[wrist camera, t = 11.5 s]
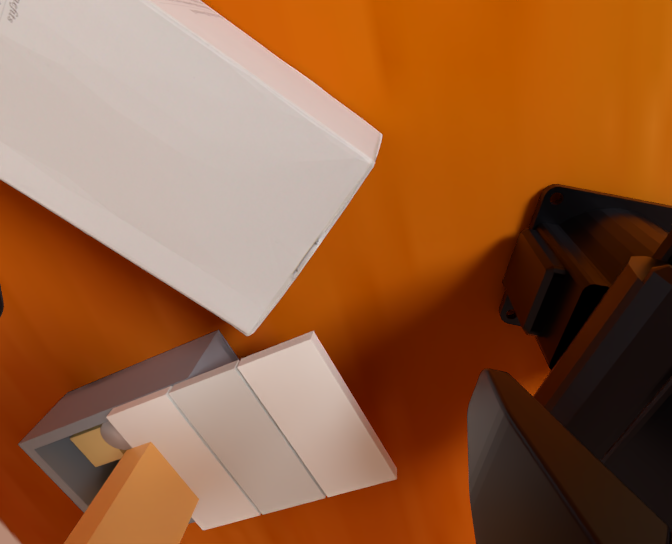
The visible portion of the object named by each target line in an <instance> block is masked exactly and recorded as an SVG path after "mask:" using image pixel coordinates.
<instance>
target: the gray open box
mask: <svg viewBox="0 0 672 544" xmlns="http://www.w3.org/2000/svg"><path fill="white" fill-rule="evenodd" d="M237 360H239V359H238V357H237V356H236V354H235V353H234V351H233V350H232V349H231V347H230V346H229V344H228V343H227V341H226V340H225V338H224V337H223V335H222V334H221V333H220V331H219V330H217V331H215V332H212V333H210V334H207V335H205V336H203V337H200V338H198V339H195V340H193V341H191V342H188V343H186V344H183V345H181V346H179V347H176V348H174V349H171V350H169V351H166V352H164V353H162V354H159V355H157V356H154V357H152V358H150V359H147V360H145V361H142V362H140V363H138V364H135V365H133V366H130V367H128V368H126V369H123V370H121V371H118V372H116V373H114V374H111V375H109V376H106V377H104V378H102V379H99V380H97V381H94V382H92V383H90V384H87V385H85V386H82V387H80V388H78V389H75V390H73V391H70V392H68V393H66V394H65V396H64V397H63V398H62V399H61V400H60V401H59V402H58V403H57V404H56V405H55V406H54V407H53V408H52V409H51V410H50V411H49V412H48V413H47V414H46V415H45V416H44V417H43V418H42V420H41V421H40V422H39V423H38V424H37V425H36V426H35V427H34V428H33V429H32V430H31V431H30V432H29V433H28V434H27V435H26V436H25V437H24V438H23V439H22V440H21V441H20V442H19V444H18V445H19V446H20V447H21V448H22V449H23V450H24V451H25V452H26V453H27V454H28V455H29V456H30V458H31V459H32V460H33V461H34V462H35V463H36V464H37V465H38V466H39V467H40V468H41V469H42V470H43V471H44V472H45V473H46V474H47V475H48V476H49V477H50V478H51V479H52V480H53V481H54V482H55V483H56V484H57V485H58V486H59V487H60V489H61V490H62V491H63V492H64V493H65V494H66V495H67V496H68V497H69V498H70V499H71V500H72V501H73V502H74V503H75V504H76V505H77V506H78V507H79V508H80V509H81V510H82V511H83V512H84V513H85V511H86V510H87V508H88V507H89V505H90V504H91V502H92V501H93V499H94V498H95V496H96V495H97V493H98V492H99V490H100V489H101V488H102V486H103V485H104V483H105V482H106V480H107V479H108V477H109V476H110V474H111V473H112V471H113V470H114V468H115V467H116V465H117V464H118V462H119V461H120V459H121V458H122V456H123V455H124V453H125V452H126V450H128V449H131V448H132V447H131V446H130V445H129V444H128V442H127V441H126V440H125V439H124V438H123V437H122V435H121V434H120V433H119V432H118V431H117V430H116V428H115V427H114V426H113V425H112V424H111V423H110V421H109V420H108V419H107V418H106V417H107V415H108V414H109V413H110V412H111V410H112V409H113V408H115V407H118V406H120V405H123V404H126V403H128V402H131V401H133V400H136V399H138V398H141V397H144V396H146V395H149V394H151V393H154V392H156V391H159V390H162V389H164V388H167V387H169V386H172V387H173V385H175V384H177V383H180V382H182V381H185V380H187V379H190V378H193V377H195V376H198V375H200V374H203V373H206V372H208V371H211V370H213V369H216V368H218V367H221V366H224V365H226V364H229V363H231V362H234V361H237ZM239 361H240V360H239ZM192 522H195V521H194V519H193V518H192V517H191V519H190V521H189V523H192ZM189 523H188V524H189Z"/></svg>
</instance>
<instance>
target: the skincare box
mask: <svg viewBox="0 0 672 544" xmlns="http://www.w3.org/2000/svg"><path fill="white" fill-rule="evenodd" d="M381 141H382V134H381V133H380V132H379V131H377V130H376V129H375V128H374V127H372V126H371V125H370V124H368V123H367V122H366V121H364V120H363V119H362V118H360V117H359V116H358V115H356V114H355V113H354V112H352V111H351V110H350V109H348V108H347V107H346V106H344V105H343V104H341V103H340V102H339V101H337V100H336V99H334V98H333V97H332V96H331V95H329V94H328V93H327V92H325V91H324V90H323V89H322V88H320V87H319V86H318V85H316V84H315V83H314V82H312V81H311V80H310V79H308V78H307V77H305V76H304V75H303V74H301V73H300V72H298V71H297V70H296V69H294V68H293V67H291V66H290V65H288V64H287V63H285V62H284V61H282V60H281V59H280V58H278V57H277V56H276V55H274V54H273V53H271V52H270V51H269V50H267V49H266V48H265V47H263V46H262V45H261V44H259V43H258V42H257V41H255V40H254V39H252V38H251V37H250V36H248V35H247V34H246V33H244V32H243V31H241V30H240V29H239V28H237V27H236V26H235V25H233V24H232V23H231V22H229V21H228V20H226V19H225V18H224V17H222V16H221V15H220V14H218V13H217V12H216V11H214V10H213V9H211V8H210V7H209V6H207V5H206V4H204V3H203V2H202V1H200V0H0V180H2V181H3V182H5V183H7V184H8V185H10V186H11V187H13V188H15V189H16V190H18V191H20V192H21V193H23V194H24V195H26V196H28V197H29V198H31V199H32V200H34V201H35V202H37V203H39V204H40V205H42V206H43V207H45V208H46V209H48V210H50V211H51V212H53V213H54V214H56V215H58V216H59V217H61V218H62V219H64V220H66V221H67V222H69V223H70V224H72V225H74V226H75V227H77V228H78V229H80V230H81V231H83V232H84V233H86V234H88V235H89V236H91V237H93V238H94V239H96V240H97V241H99V242H101V243H102V244H104V245H105V246H107V247H108V248H110V249H112V250H113V251H115V252H116V253H118V254H119V255H121V256H123V257H124V258H126V259H127V260H129V261H131V262H132V263H134V264H135V265H137V266H139V267H140V268H142V269H143V270H145V271H147V272H148V273H150V274H151V275H153V276H155V277H156V278H158V279H159V280H161V281H162V282H164V283H166V284H167V285H169V286H170V287H172V288H174V289H175V290H177V291H178V292H180V293H182V294H183V295H185V296H186V297H188V298H190V299H191V300H193V301H194V302H196V303H197V304H199V305H200V306H202V307H204V308H205V309H207V310H209V311H210V312H212V313H213V314H215V315H216V316H218V317H219V318H221V319H222V320H224V321H226V322H227V323H229V324H231V325H232V326H233V327H235V328H236V329H238V330H239V331H240V332H242V333H243V334H245V335H246V336H249V335H251V334H253V333H254V332H255V331H256V329H257V328H258V327H259V326H260V324H261V323H262V322H263V321H264V319H265V318H266V317H267V316H268V314H269V313H270V312H271V311H272V309H273V308H274V307H275V306H276V304H277V303H278V302H279V301H280V299H281V298H282V296H283V295H284V294H285V292H286V291H287V290H288V288H289V287H290V286H291V284H292V283H293V281H294V280H295V279H296V278H297V276H298V275H299V274H300V272H301V271H302V269H303V268H304V266H305V265H306V264H307V262H308V261H309V259H310V258H311V257H312V255H313V254H314V252H315V251H316V249H317V248H318V247H319V245H320V244H321V242H322V241H323V239H324V238H325V236H326V235H327V234H328V232H329V231H330V229H331V228H332V227H333V225H334V224H335V222H336V221H337V220H338V218H339V217H340V215H341V214H342V212H343V211H344V210H345V208H346V207H347V205H348V204H349V202H350V201H351V199H352V198H353V196H354V195H355V193H356V192H357V190H358V189H359V187H360V186H361V185H362V183H363V182H364V180H365V179H366V177H367V176H368V174H369V173H370V171H371V170H372V168H373V167H374V164H375V161H376V158H377V155H378V151H379V148H380V145H381Z"/></svg>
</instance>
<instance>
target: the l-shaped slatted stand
mask: <svg viewBox="0 0 672 544" xmlns="http://www.w3.org/2000/svg"><path fill="white" fill-rule="evenodd" d="M106 418H107V419H108V420H109V421H110V423H111V424H112V425H113V426H114V427H115V428H116V430H117V431H118V432H119V433H120V434H121V435H122V437H123V438H124V439H125V440H126V441H127V442H128V444H129V445H130V446H131V447H132V448H131V449H128V450H126V452H125V453H124V455H123V456H122V458H121V459H120V461H119V462H118V464H117V465H116V467H115V468H114V470H113V471H112V473H111V474H110V476H109V477H108V479H107V480H106V482H105V483H104V485H103V486H102V488H101V489H100V490H99V492H98V493H97V495H96V496H95V498H94V499H93V501H92V502H91V504H90V505H89V507H88V508H87V510H86V511H85V513H84V514H83V516H82V517H81V519H80V520H79V522H78V523H77V525H76V526H75V527H74V529H73V530H72V532H71V533H70V535H69V536H68V538H67V539H66V541H65V542H64V544H180V541H181V539H182V537H183V535H184V532H185V530H186V528H187V526H188V523H189V521H190V519H191V517H192V518H193V519H194V521H195V522H196V523H197V524H198V525H199V526H200V528H201V529H202V530H207V529H210V528H214V527H218V526H222V525H226V524H229V523H233V522H237V521H241V520H244V519H248V518H252V517H256V516H260V514H261V513H262V515H263V514H267V513H271V512H275V511H278V510H282V509H286V508H290V507H294V506H297V505H301V504H305V503H309V502H312V501H316V500H320V499H324V498H325V496H326V495H327V497H331V496H335V495H339V494H343V493H346V492H350V491H354V490H358V489H362V488H365V487H369V486H373V485H377V484H380V483H384V482H388V481H392V480H396V479H397V468H396V466H395V464H394V463H393V461H392V459H391V458H390V456H389V454H388V453H387V451H386V449H385V448H384V446H383V445H382V443H381V441H380V440H379V438H378V436H377V435H376V433H375V431H374V430H373V428H372V426H371V425H370V423H369V421H368V420H367V418H366V417H365V415H364V413H363V412H362V410H361V408H360V407H359V405H358V403H357V402H356V400H355V398H354V397H353V395H352V393H351V392H350V390H349V389H348V387H347V385H346V384H345V382H344V380H343V379H342V377H341V375H340V374H339V372H338V370H337V369H336V367H335V365H334V364H333V362H332V361H331V359H330V357H329V356H328V354H327V352H326V351H325V349H324V347H323V346H322V344H321V342H320V341H319V339H318V337H317V336H316V334H315V333H314V331H311V332H309V333H306V334H304V335H301V336H298V337H296V338H293V339H291V340H288V341H286V342H283V343H280V344H278V345H275V346H273V347H270V348H267V349H265V350H262V351H260V352H257V353H255V354H252V355H249V356H247V357H244V358H242V359H241V361H239V360H237V361H234V362H231V363H229V364H226V365H224V366H221V367H218V368H216V369H213V370H211V371H208V372H206V373H203V374H200V375H198V376H195V377H193V378H190V379H187V380H185V381H182V382H180V383H177V384H175V385H173V387H172V386H169V387H167V388H164V389H162V390H159V391H156V392H154V393H151V394H149V395H146V396H144V397H141V398H138V399H136V400H133V401H131V402H128V403H126V404H123V405H120V406H118V407H115V408H113V409H112V410H111V412H110V413H109V414H108V415H107V417H106Z"/></svg>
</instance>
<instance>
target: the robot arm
mask: <svg viewBox="0 0 672 544" xmlns="http://www.w3.org/2000/svg"><path fill="white" fill-rule="evenodd" d="M554 193H560V198H559V199H558V200H557V201H555V202H551V201H550V197H551V196H552V194H554ZM503 285H504V287H505V289H506V291H505V294H504V296H503V299H502V302H501V304H500V307H499V313H500V316H501V319H502V320H503V321H504V322H506V323H508V324H513V325H518V326H521V327H522V328H523V330H524V332H525V333H526V334H527V335H532V336H535V338H536V340H537V342H538V344H539V346H540V349H541V351H542V353H543V355H544V357H545V359H546V362H547V364H548V366H549V368H550V369H551V372H550V373H549V375H548V376H547V377H546V379H545V380H544V382H543V383H542V385H541V386H540V387H539V389H538V390H537V392H536V393H535V395H534V396H532V395H531V394H530V393H529V392H527V391H526V390H525V389H524V388H523V387H522V386H521V385H520V384H519V383H518V382H517V381H516V380H515V379H514V378H513V377H512V376H511V375H510V374H508V373H507V372H503V371H498V370H493V369H488V368H486V369H484V370H483V371H482V372H481V374H480V376H479V378H478V381H477V384H476V386H475V389H474V392H473V394H472V397H471V400H470V403H469V406H468V412H467V428H468V465H469V493H470V503H471V511H472V518H473V525H474V532H475V539H476V544H672V206H669V205H664V204H659V203H654V202H648V201H643V200H638V199H633V198H628V197H623V196H617V195H612V194H607V193H602V192H597V191H591V190H586V189H581V188H576V187H571V186H565V185H560V184H552V185H549V186H548V187H546V188H545V189H544V190H543V192H542V194H541V196H540V199H539V202H538V204H537V207H536V210H535V213H534V215H533V218H532V221H531V223H530V226H529V229H528V228H526V229H525V230H523V231H522V232H520V235H519V238H518V240H517V243H516V246H515V249H514V251H513V254H512V257H511V260H510V262H509V265H508V268H507V271H506V273H505V276H504V279H503ZM3 308H4V303H3V297H2V291H1V286H0V317H1V315H2V312H3ZM511 309H514V310H515V313H514V314H511V315H508V314H506V313H507V311H509V310H511Z"/></svg>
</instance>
